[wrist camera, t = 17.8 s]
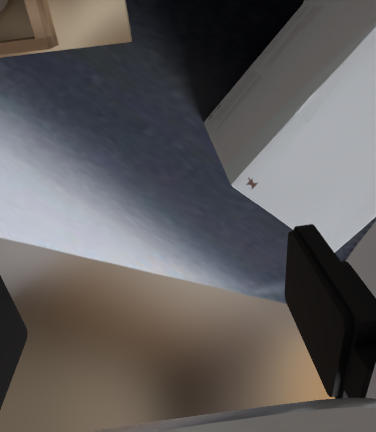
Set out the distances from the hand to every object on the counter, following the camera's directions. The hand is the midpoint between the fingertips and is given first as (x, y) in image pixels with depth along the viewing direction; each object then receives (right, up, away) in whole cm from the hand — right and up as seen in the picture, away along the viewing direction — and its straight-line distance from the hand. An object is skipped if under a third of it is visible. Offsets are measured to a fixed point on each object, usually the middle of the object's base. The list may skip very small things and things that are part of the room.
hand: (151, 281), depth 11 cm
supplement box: (+13, +17, +32) cm, 38 cm away
